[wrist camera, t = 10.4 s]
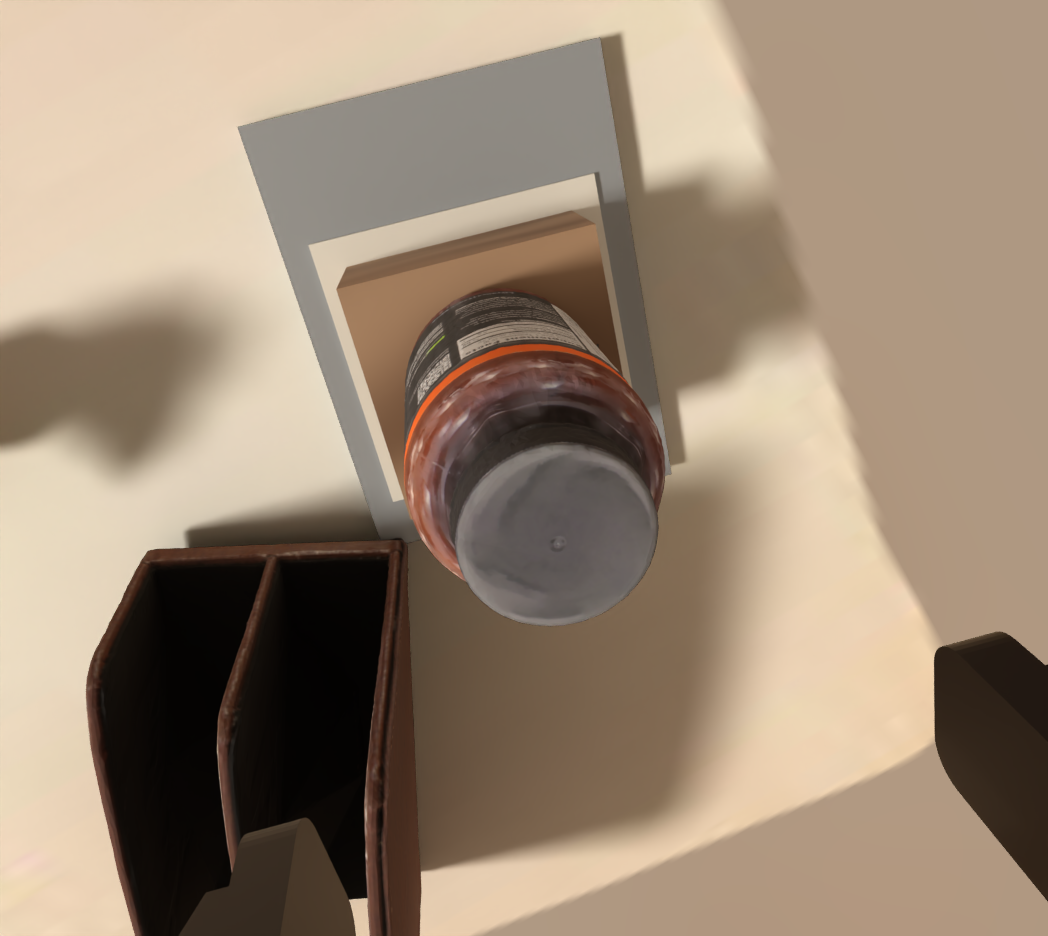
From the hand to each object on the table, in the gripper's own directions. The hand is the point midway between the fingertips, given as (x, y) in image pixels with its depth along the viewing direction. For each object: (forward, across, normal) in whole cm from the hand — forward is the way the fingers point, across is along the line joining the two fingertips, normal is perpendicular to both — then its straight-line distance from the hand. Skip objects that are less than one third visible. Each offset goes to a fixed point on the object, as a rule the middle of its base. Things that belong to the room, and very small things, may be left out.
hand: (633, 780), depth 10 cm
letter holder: (+22, +12, +15) cm, 29 cm away
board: (+22, 0, -1) cm, 22 cm away
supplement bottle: (+17, 0, 0) cm, 17 cm away
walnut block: (+21, 0, 0) cm, 21 cm away
